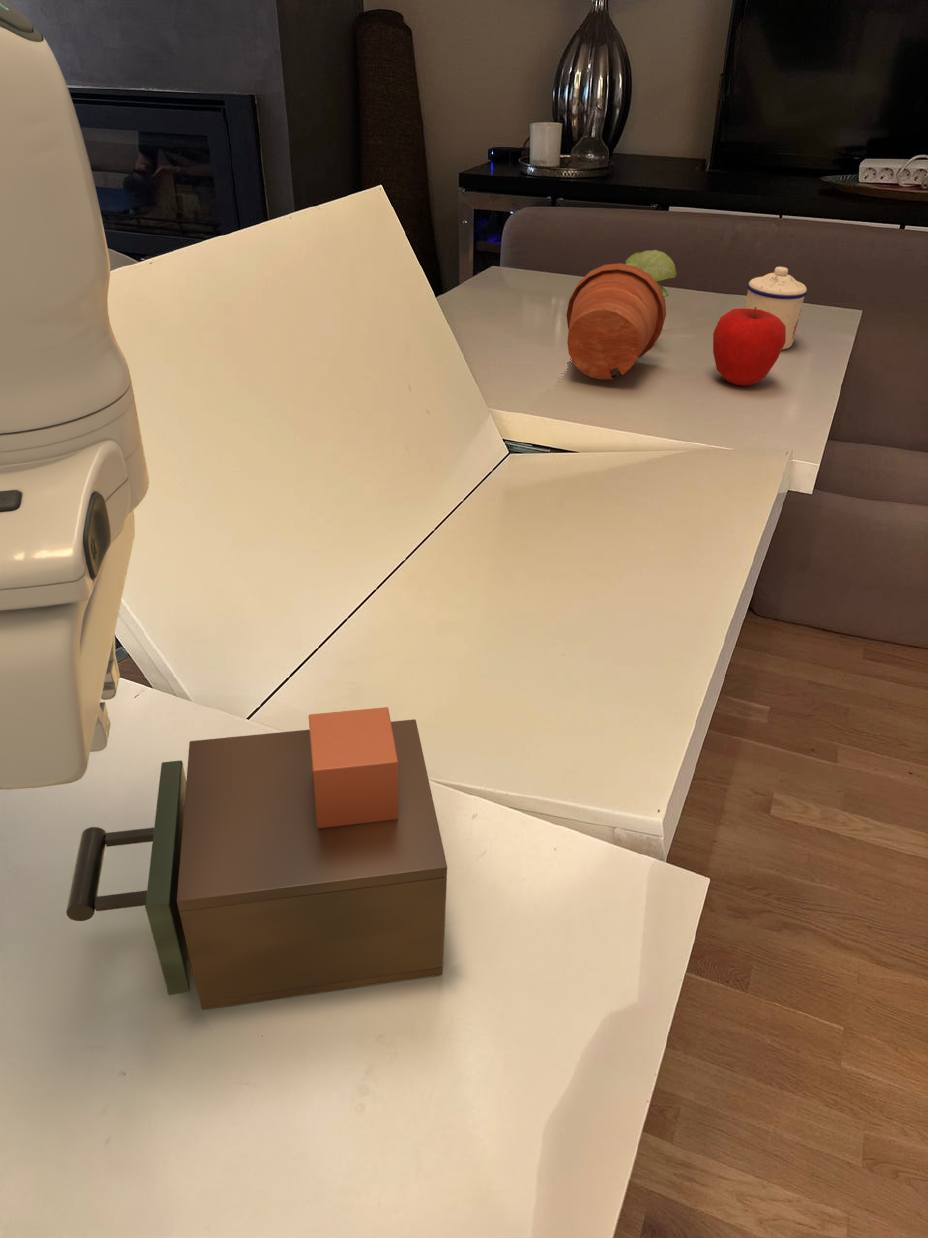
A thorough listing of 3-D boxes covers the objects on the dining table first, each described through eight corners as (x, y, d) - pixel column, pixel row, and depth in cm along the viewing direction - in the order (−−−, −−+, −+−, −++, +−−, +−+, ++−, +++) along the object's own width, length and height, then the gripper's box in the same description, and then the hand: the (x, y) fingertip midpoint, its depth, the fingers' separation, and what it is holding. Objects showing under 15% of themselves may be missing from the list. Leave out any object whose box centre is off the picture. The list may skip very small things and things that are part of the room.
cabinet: (201, 1010, 50) (176, 901, 45) (209, 848, 60) (189, 740, 54) (442, 975, 53) (447, 867, 47) (414, 824, 62) (415, 718, 56)
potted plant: (651, 406, 128) (677, 314, 154) (661, 299, 118) (687, 219, 144) (542, 397, 132) (585, 308, 158) (544, 292, 122) (589, 216, 148)
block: (317, 829, 49) (312, 770, 46) (313, 771, 52) (308, 713, 50) (398, 819, 50) (398, 761, 47) (388, 763, 53) (388, 706, 51)
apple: (693, 381, 132) (707, 305, 126) (723, 365, 138) (738, 292, 132) (756, 400, 127) (775, 322, 121) (784, 382, 133) (803, 307, 127)
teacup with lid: (803, 350, 145) (823, 275, 138) (751, 352, 143) (768, 276, 137) (769, 326, 155) (785, 255, 148) (719, 328, 153) (734, 255, 146)
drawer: (78, 1009, 49) (45, 920, 45) (103, 858, 58) (77, 770, 53) (393, 964, 52) (392, 876, 48) (374, 826, 61) (372, 740, 56)
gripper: (2, 367, 44) (63, 601, 52) (-145, 605, 28) (-23, 891, 36) (137, 363, 45) (177, 593, 53) (71, 590, 29) (143, 871, 37)
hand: (96, 715), depth 45 cm, fingers closed
